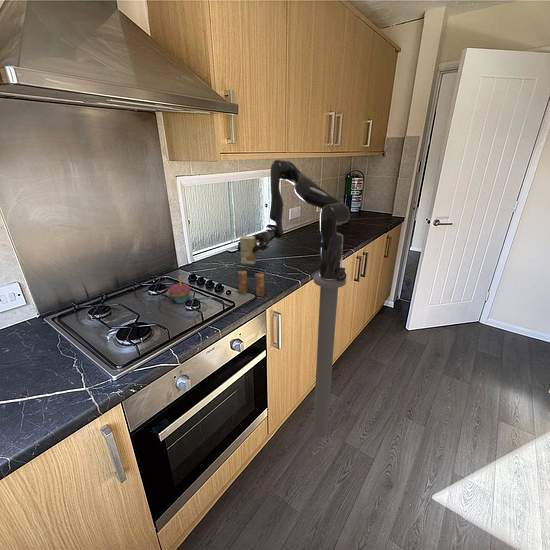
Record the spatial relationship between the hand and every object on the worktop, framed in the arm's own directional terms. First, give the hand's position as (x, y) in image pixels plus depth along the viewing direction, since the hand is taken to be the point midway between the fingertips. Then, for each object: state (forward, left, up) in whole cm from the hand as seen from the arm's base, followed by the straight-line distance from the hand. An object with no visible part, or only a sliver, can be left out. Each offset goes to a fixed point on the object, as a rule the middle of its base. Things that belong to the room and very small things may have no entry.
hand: (245, 249), depth 131 cm
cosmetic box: (0, -2, -7) cm, 8 cm away
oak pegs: (-8, +12, -15) cm, 20 cm away
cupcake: (+16, +28, -15) cm, 35 cm away
